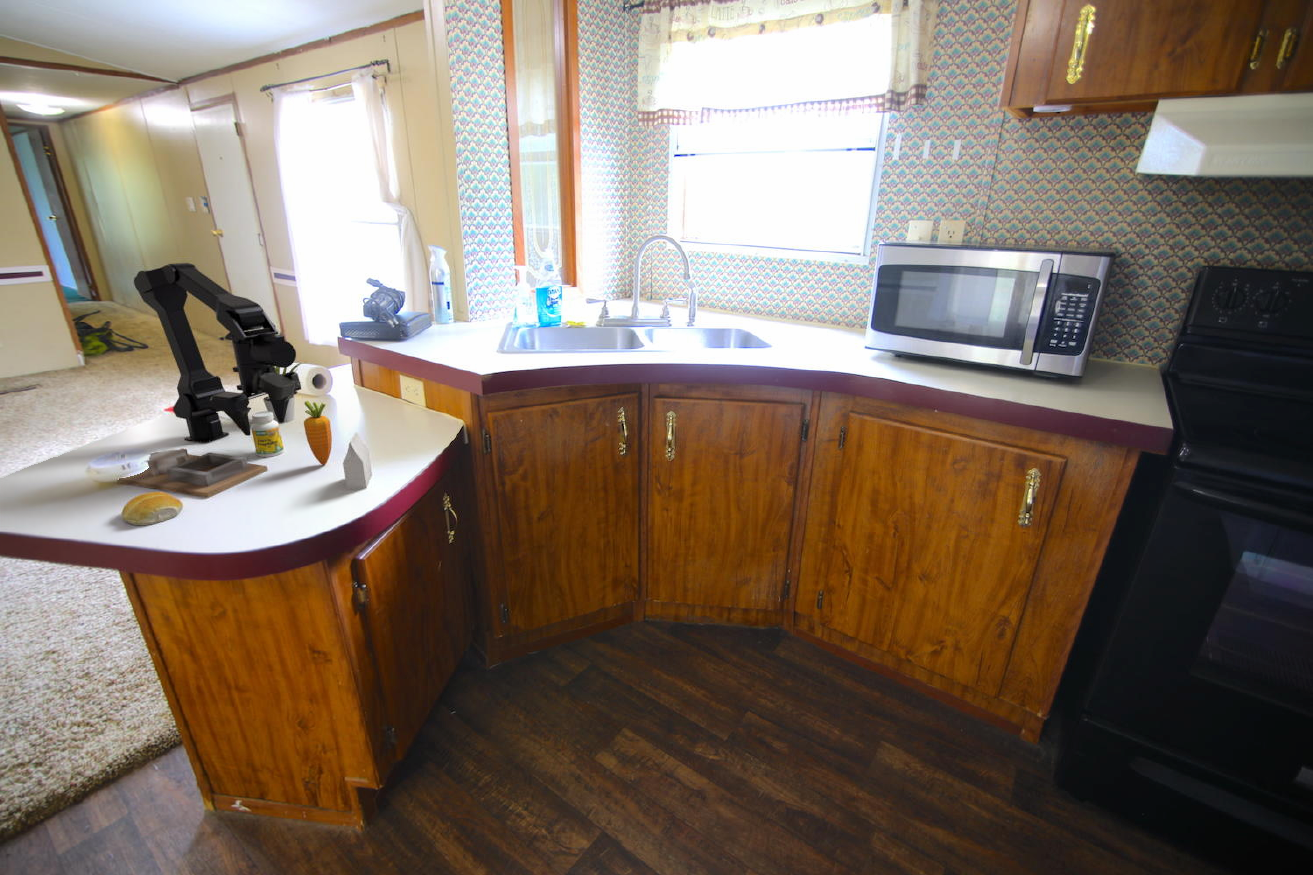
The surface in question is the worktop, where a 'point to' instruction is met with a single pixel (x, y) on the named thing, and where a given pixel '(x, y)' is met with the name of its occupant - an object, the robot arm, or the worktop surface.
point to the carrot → (318, 432)
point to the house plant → (291, 404)
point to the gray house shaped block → (357, 464)
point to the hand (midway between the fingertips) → (265, 428)
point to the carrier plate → (194, 472)
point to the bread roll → (151, 508)
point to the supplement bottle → (266, 434)
